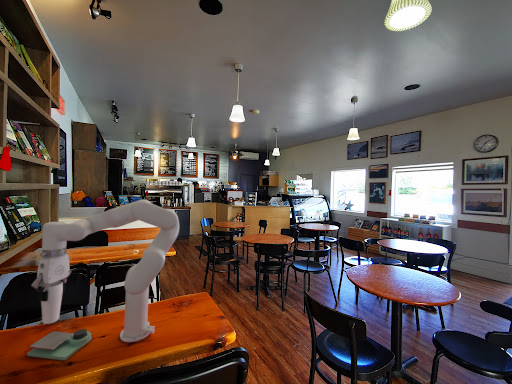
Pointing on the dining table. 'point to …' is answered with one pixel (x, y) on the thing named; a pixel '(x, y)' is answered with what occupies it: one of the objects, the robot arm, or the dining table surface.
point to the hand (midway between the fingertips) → (52, 296)
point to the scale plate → (51, 340)
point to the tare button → (80, 334)
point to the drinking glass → (52, 303)
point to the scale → (62, 349)
